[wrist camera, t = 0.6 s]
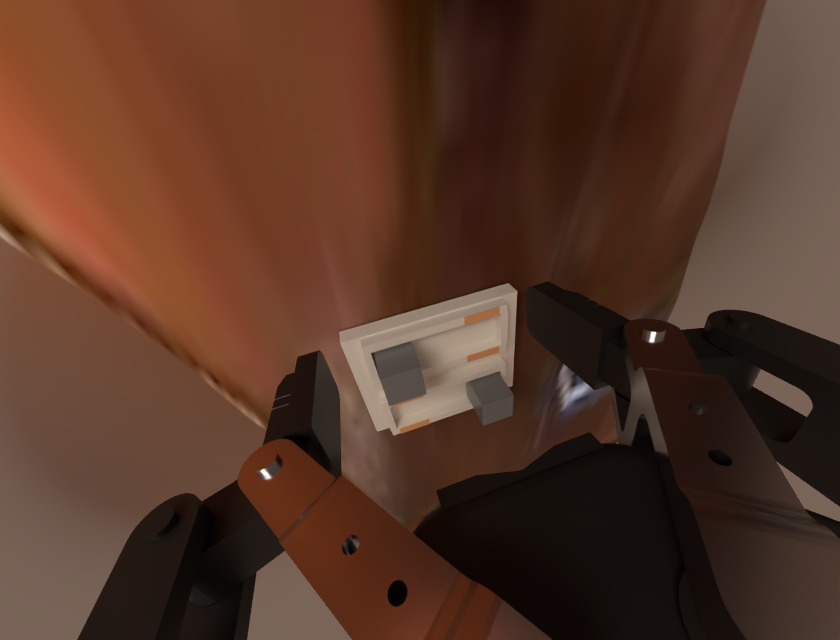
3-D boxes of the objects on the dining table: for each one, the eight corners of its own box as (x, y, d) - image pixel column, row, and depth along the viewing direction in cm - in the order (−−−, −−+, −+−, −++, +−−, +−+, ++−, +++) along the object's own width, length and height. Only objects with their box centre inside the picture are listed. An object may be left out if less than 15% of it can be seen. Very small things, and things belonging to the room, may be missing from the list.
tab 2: (465, 375, 38) (482, 405, 34) (493, 366, 39) (513, 394, 35) (467, 395, 41) (483, 425, 37) (493, 386, 41) (512, 415, 37)
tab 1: (372, 346, 32) (379, 379, 28) (408, 335, 32) (420, 366, 28) (381, 372, 34) (389, 406, 30) (414, 362, 34) (426, 393, 30)
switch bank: (339, 331, 32) (341, 353, 29) (508, 283, 35) (525, 298, 32) (375, 419, 41) (379, 442, 39) (505, 376, 44) (518, 394, 41)
